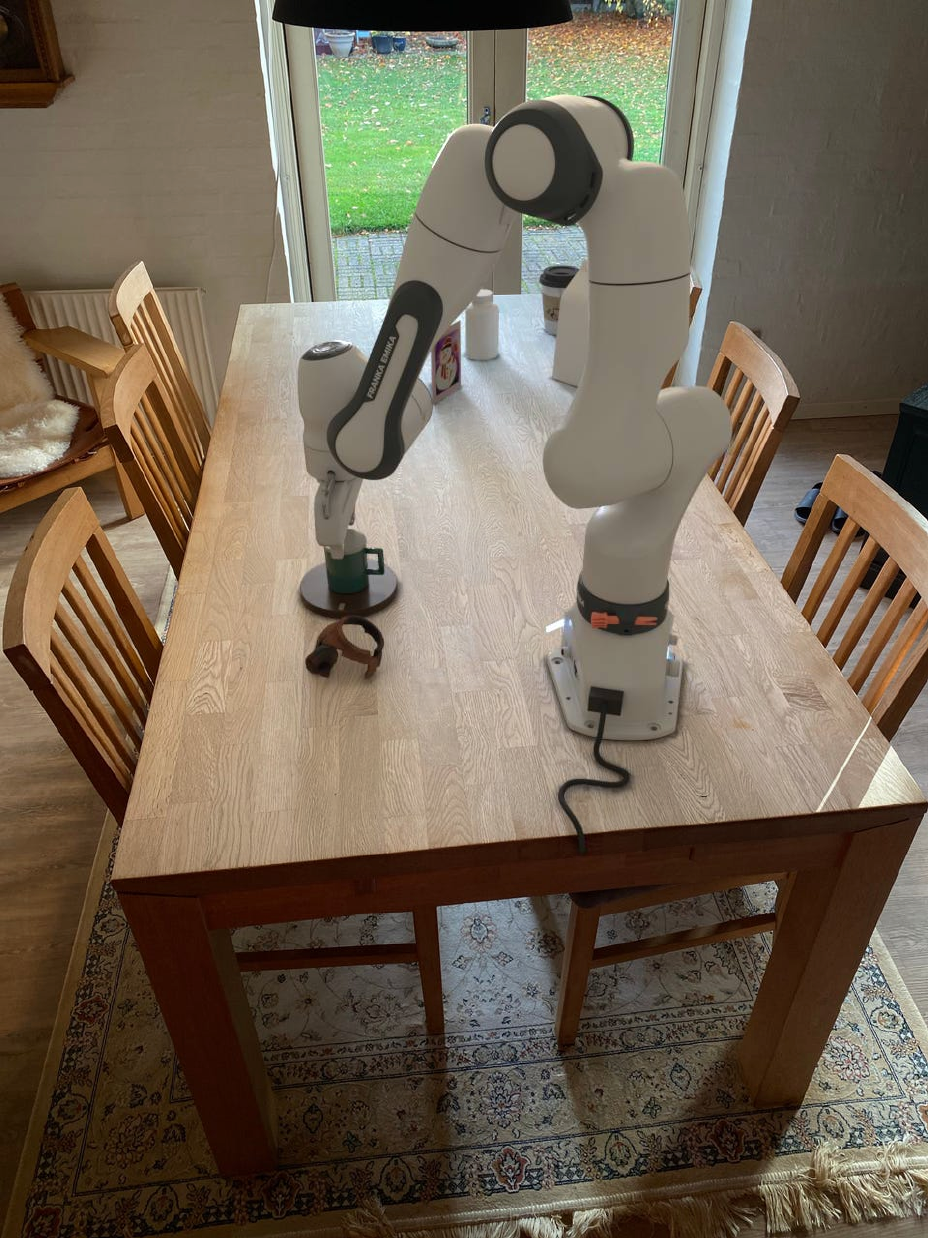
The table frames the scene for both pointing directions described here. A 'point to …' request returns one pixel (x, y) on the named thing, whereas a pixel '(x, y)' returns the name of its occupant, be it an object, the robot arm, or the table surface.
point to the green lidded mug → (352, 564)
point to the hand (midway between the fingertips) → (343, 539)
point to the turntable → (340, 604)
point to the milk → (572, 330)
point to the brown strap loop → (344, 647)
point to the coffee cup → (554, 292)
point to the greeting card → (446, 363)
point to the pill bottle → (482, 327)
